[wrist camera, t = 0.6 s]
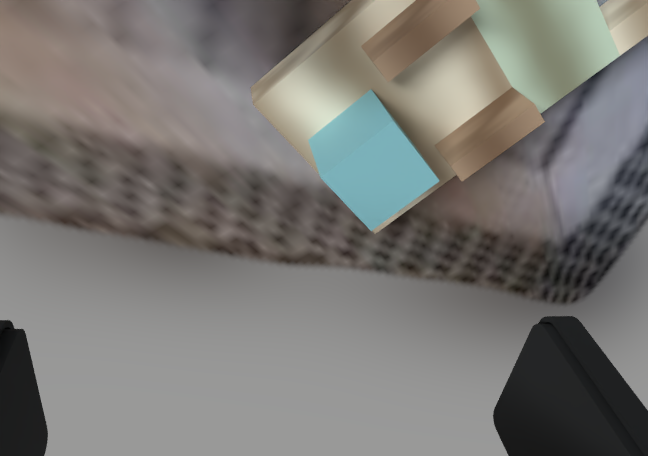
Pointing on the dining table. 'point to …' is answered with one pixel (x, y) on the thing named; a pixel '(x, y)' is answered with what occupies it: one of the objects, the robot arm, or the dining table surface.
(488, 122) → the board
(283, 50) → the dining table surface
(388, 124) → the teal cube
